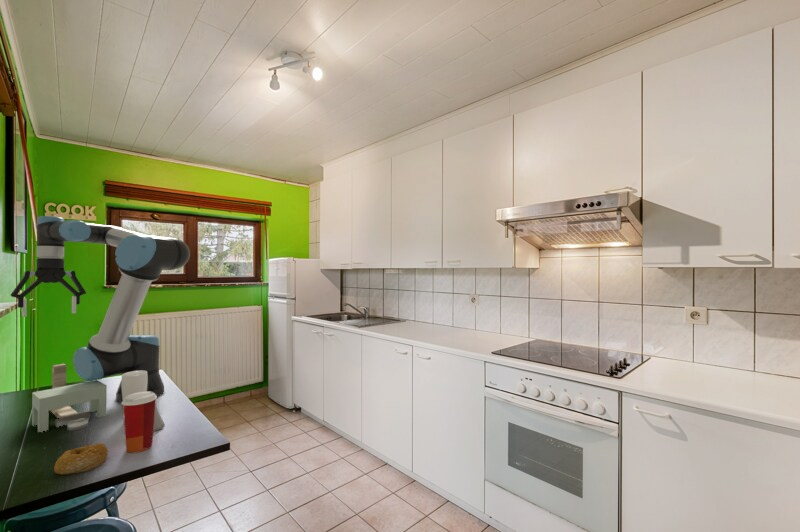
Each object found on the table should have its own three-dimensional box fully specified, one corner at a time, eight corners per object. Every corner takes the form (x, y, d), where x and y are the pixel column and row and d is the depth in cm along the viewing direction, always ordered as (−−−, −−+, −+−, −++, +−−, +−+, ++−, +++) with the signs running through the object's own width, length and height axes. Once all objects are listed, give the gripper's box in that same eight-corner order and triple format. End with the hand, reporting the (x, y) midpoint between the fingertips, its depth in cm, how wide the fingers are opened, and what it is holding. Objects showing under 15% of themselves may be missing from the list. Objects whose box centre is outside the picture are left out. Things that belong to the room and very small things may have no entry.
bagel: (107, 451, 97) (107, 433, 97) (108, 468, 88) (108, 448, 88) (56, 463, 91) (56, 444, 91) (51, 483, 82) (51, 461, 82)
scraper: (41, 413, 123) (42, 366, 123) (73, 406, 130) (73, 362, 130) (56, 427, 112) (57, 376, 112) (90, 418, 118) (90, 370, 118)
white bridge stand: (31, 424, 114) (32, 392, 114) (96, 409, 127) (96, 380, 127) (39, 432, 108) (39, 398, 108) (106, 415, 121) (106, 385, 121)
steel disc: (91, 423, 115) (91, 416, 115) (85, 429, 111) (85, 422, 111) (70, 426, 113) (70, 419, 113) (63, 432, 108) (63, 425, 109)
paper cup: (151, 438, 104) (151, 388, 104) (160, 446, 99) (161, 394, 99) (117, 449, 97) (117, 396, 98) (125, 458, 93) (126, 402, 93)
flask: (152, 434, 106) (152, 400, 106) (128, 434, 106) (129, 399, 107) (169, 424, 113) (169, 391, 114) (147, 424, 114) (147, 391, 114)
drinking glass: (117, 425, 112) (117, 376, 113) (126, 417, 119) (127, 371, 119) (142, 423, 114) (142, 375, 115) (150, 415, 121) (151, 369, 121)
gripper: (90, 259, 149) (89, 311, 149) (0, 257, 129) (-1, 317, 129) (95, 258, 145) (95, 312, 144) (3, 256, 125) (2, 319, 124)
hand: (50, 314), depth 136 cm, fingers open, 13 cm apart
